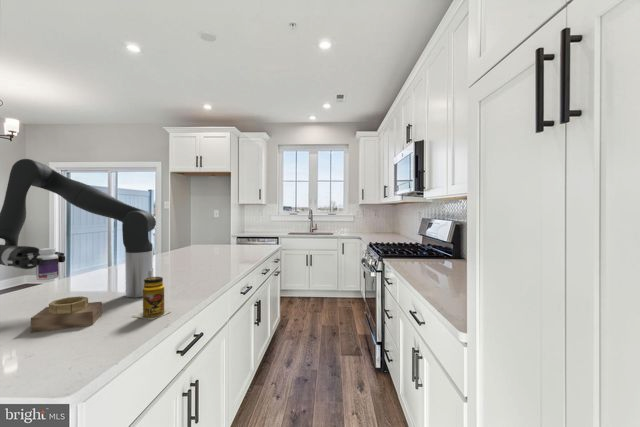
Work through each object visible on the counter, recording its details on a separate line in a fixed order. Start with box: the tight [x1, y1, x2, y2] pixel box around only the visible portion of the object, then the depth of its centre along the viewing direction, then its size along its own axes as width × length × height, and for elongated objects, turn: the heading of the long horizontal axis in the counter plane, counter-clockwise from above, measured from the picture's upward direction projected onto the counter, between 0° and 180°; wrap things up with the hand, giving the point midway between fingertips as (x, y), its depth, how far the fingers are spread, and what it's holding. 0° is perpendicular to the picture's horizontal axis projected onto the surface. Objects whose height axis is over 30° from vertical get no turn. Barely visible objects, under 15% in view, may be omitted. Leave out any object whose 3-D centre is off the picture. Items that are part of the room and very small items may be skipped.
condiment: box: [132, 276, 170, 321], centre depth 97 cm, size 7×8×12 cm
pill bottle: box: [35, 247, 60, 281], centre depth 97 cm, size 5×5×10 cm
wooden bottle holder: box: [30, 295, 103, 333], centre depth 90 cm, size 14×10×6 cm
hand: (52, 260), depth 96 cm, fingers closed on pill bottle, 5 cm apart
